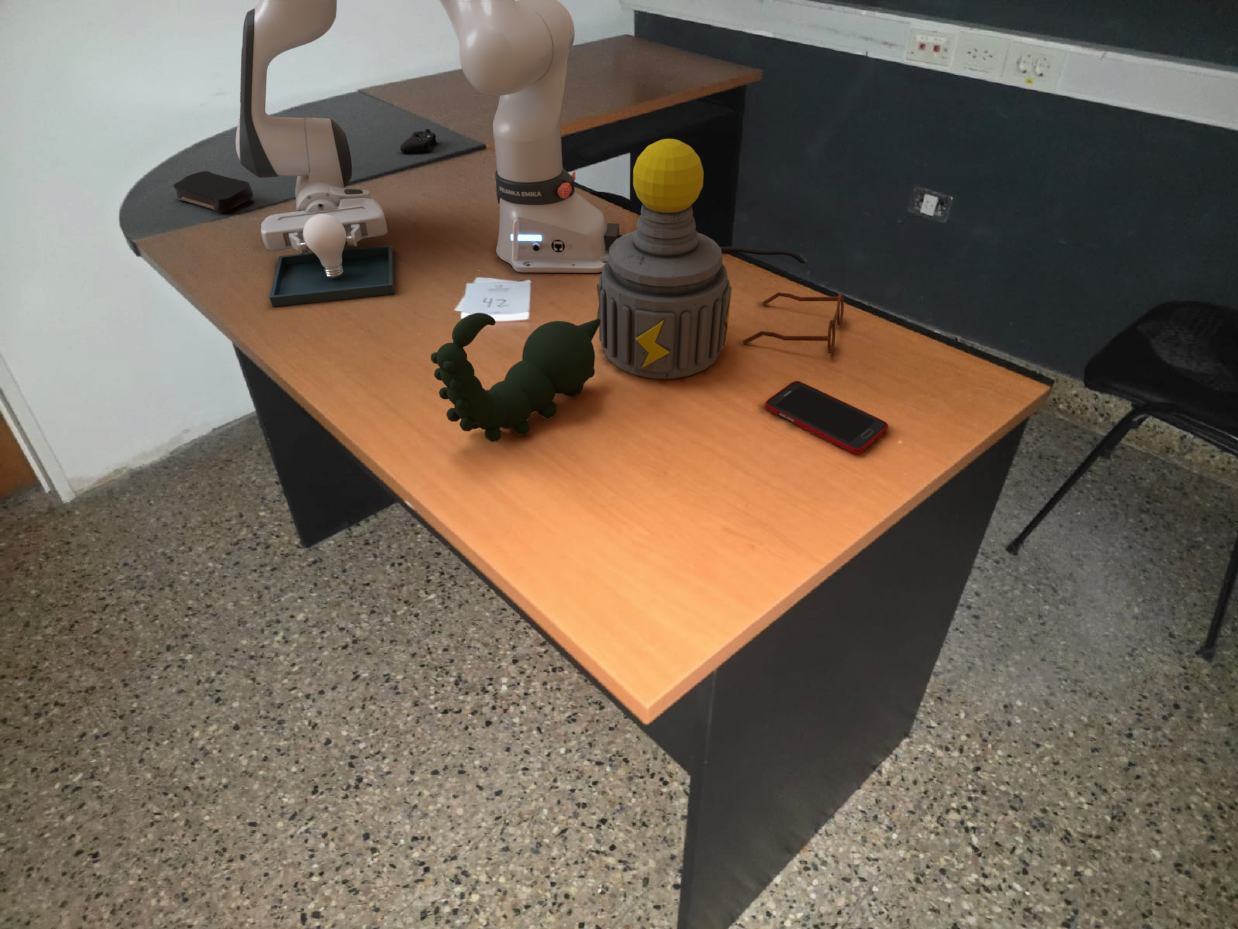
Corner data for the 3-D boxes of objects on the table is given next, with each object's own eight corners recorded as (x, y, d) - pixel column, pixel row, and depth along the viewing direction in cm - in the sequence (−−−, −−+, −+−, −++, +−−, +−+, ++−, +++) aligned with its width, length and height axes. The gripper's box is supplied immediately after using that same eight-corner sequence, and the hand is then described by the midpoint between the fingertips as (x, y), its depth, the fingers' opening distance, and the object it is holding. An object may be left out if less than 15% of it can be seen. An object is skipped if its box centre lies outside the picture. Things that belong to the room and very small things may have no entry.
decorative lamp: (719, 390, 109) (740, 172, 89) (586, 376, 112) (578, 162, 92) (729, 321, 123) (750, 121, 104) (611, 311, 126) (609, 113, 106)
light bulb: (338, 265, 138) (323, 204, 130) (364, 275, 135) (349, 213, 128) (307, 280, 134) (289, 217, 126) (332, 291, 131) (316, 227, 123)
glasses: (830, 361, 114) (836, 331, 111) (742, 344, 118) (745, 315, 115) (843, 317, 124) (849, 289, 121) (761, 303, 127) (765, 275, 124)
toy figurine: (488, 479, 98) (628, 382, 109) (456, 354, 84) (619, 260, 96) (443, 445, 103) (582, 356, 114) (406, 323, 89) (567, 236, 101)
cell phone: (857, 457, 98) (859, 451, 97) (761, 408, 105) (762, 402, 105) (889, 429, 102) (891, 424, 101) (794, 384, 110) (795, 378, 109)
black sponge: (260, 201, 160) (255, 183, 157) (225, 216, 154) (219, 197, 152) (208, 186, 166) (201, 169, 164) (172, 200, 161) (165, 182, 158)
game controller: (411, 135, 187) (425, 117, 184) (429, 152, 189) (443, 135, 186) (397, 149, 180) (411, 131, 177) (415, 167, 182) (430, 149, 179)
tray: (393, 253, 141) (391, 245, 140) (394, 293, 130) (392, 284, 129) (281, 265, 138) (279, 255, 137) (272, 306, 127) (269, 297, 126)
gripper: (255, 203, 135) (254, 236, 125) (377, 188, 140) (386, 218, 130) (266, 238, 139) (266, 273, 129) (384, 222, 144) (393, 254, 134)
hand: (327, 245), depth 129 cm, fingers closed on light bulb, 6 cm apart
